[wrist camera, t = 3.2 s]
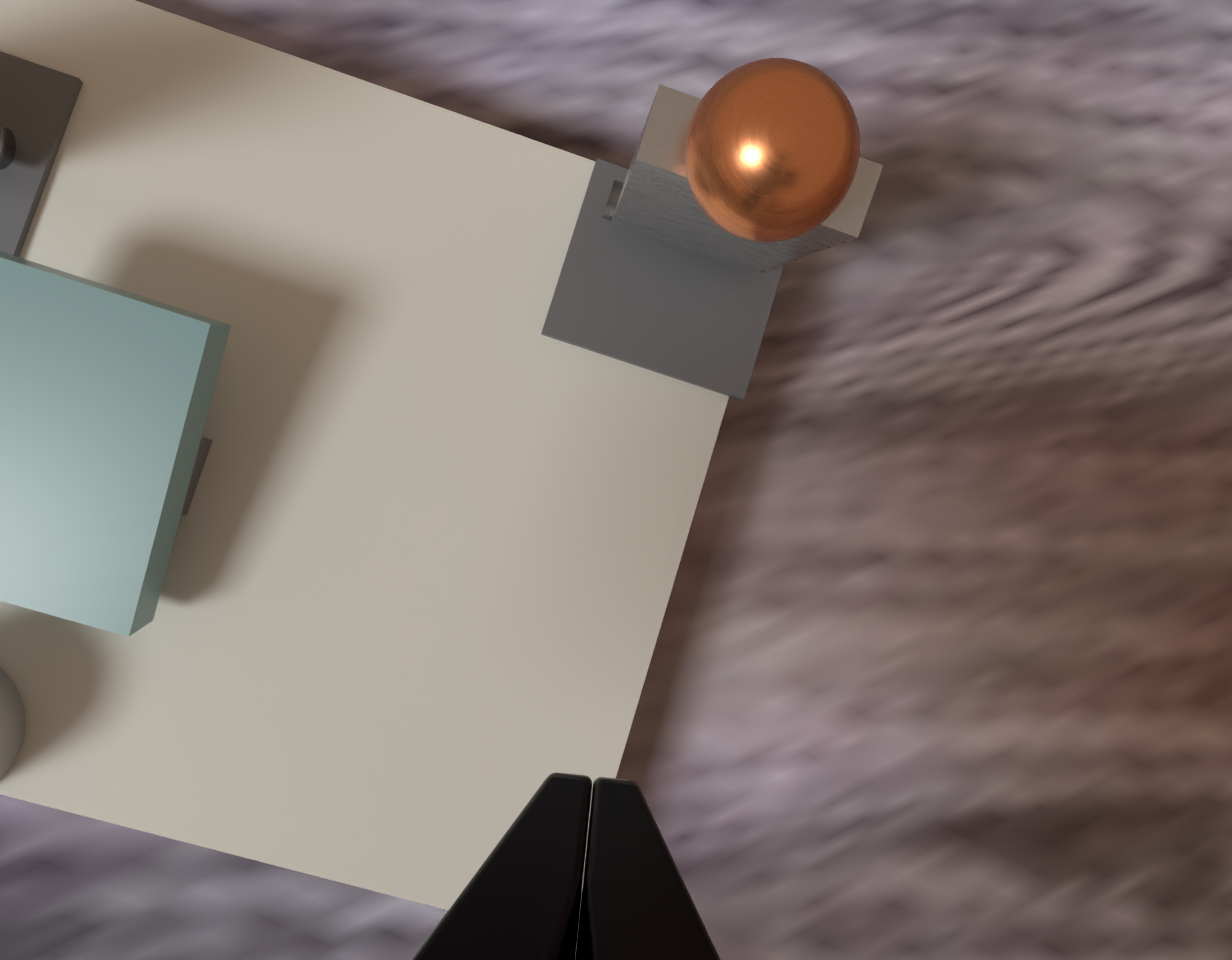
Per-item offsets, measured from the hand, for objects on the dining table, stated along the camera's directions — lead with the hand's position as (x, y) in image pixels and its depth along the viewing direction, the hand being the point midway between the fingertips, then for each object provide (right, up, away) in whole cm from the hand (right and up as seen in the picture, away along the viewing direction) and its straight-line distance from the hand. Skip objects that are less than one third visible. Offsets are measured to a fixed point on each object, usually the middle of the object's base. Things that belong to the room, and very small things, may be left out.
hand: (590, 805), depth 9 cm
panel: (-8, +4, +12) cm, 15 cm away
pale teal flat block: (-10, +4, +8) cm, 14 cm away
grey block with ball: (+2, +8, +10) cm, 14 cm away
